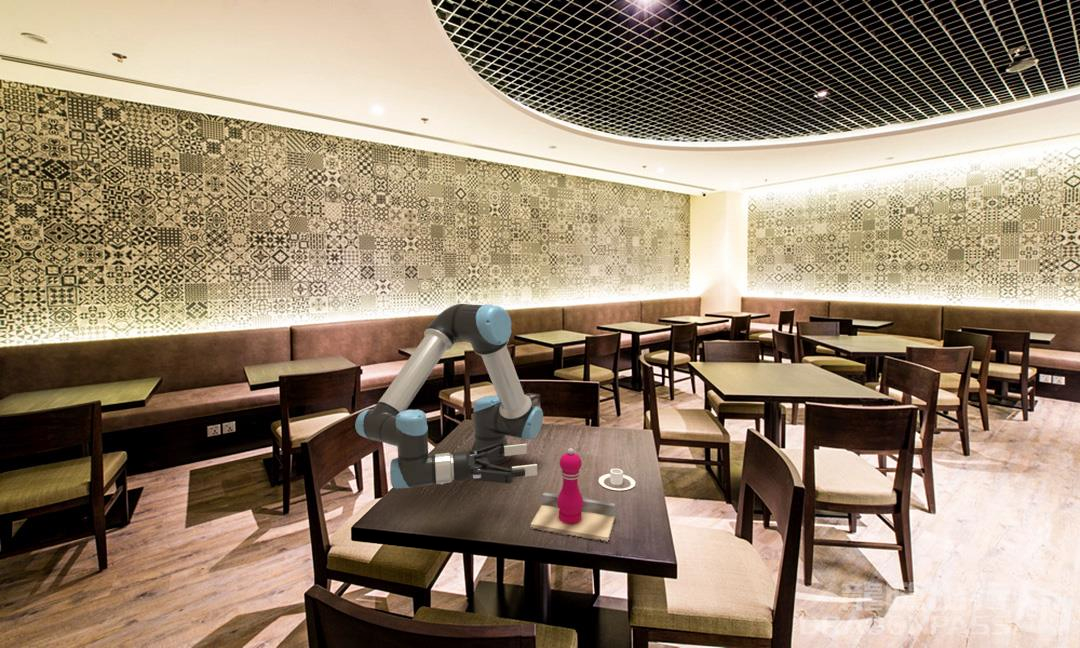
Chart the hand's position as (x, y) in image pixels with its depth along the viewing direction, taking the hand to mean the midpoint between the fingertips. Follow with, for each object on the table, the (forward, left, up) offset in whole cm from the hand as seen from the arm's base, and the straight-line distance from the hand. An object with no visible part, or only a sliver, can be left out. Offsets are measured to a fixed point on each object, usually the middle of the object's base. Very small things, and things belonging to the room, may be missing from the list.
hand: (531, 458), depth 122 cm
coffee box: (-24, +67, -19) cm, 73 cm away
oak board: (+11, +3, -18) cm, 22 cm away
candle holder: (+19, +31, -19) cm, 41 cm away
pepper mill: (+10, +3, -17) cm, 20 cm away
